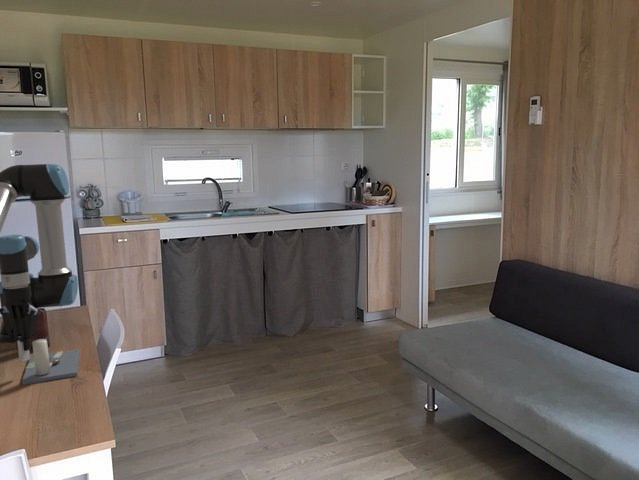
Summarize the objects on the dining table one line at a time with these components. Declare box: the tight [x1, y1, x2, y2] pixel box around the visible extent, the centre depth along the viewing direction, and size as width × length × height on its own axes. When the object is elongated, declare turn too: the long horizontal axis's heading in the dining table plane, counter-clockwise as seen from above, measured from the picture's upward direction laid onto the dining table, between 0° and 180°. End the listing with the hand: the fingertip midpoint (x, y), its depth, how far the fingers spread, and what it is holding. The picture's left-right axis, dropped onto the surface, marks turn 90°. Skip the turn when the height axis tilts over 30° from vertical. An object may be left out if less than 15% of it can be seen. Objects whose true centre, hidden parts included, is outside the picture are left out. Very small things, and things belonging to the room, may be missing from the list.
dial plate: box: [21, 348, 81, 386], centre depth 171 cm, size 22×15×1 cm
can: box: [30, 307, 51, 351], centre depth 188 cm, size 6×6×14 cm
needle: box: [32, 339, 64, 375], centre depth 170 cm, size 19×4×10 cm, turn 7°
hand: (24, 360), depth 164 cm, fingers closed
